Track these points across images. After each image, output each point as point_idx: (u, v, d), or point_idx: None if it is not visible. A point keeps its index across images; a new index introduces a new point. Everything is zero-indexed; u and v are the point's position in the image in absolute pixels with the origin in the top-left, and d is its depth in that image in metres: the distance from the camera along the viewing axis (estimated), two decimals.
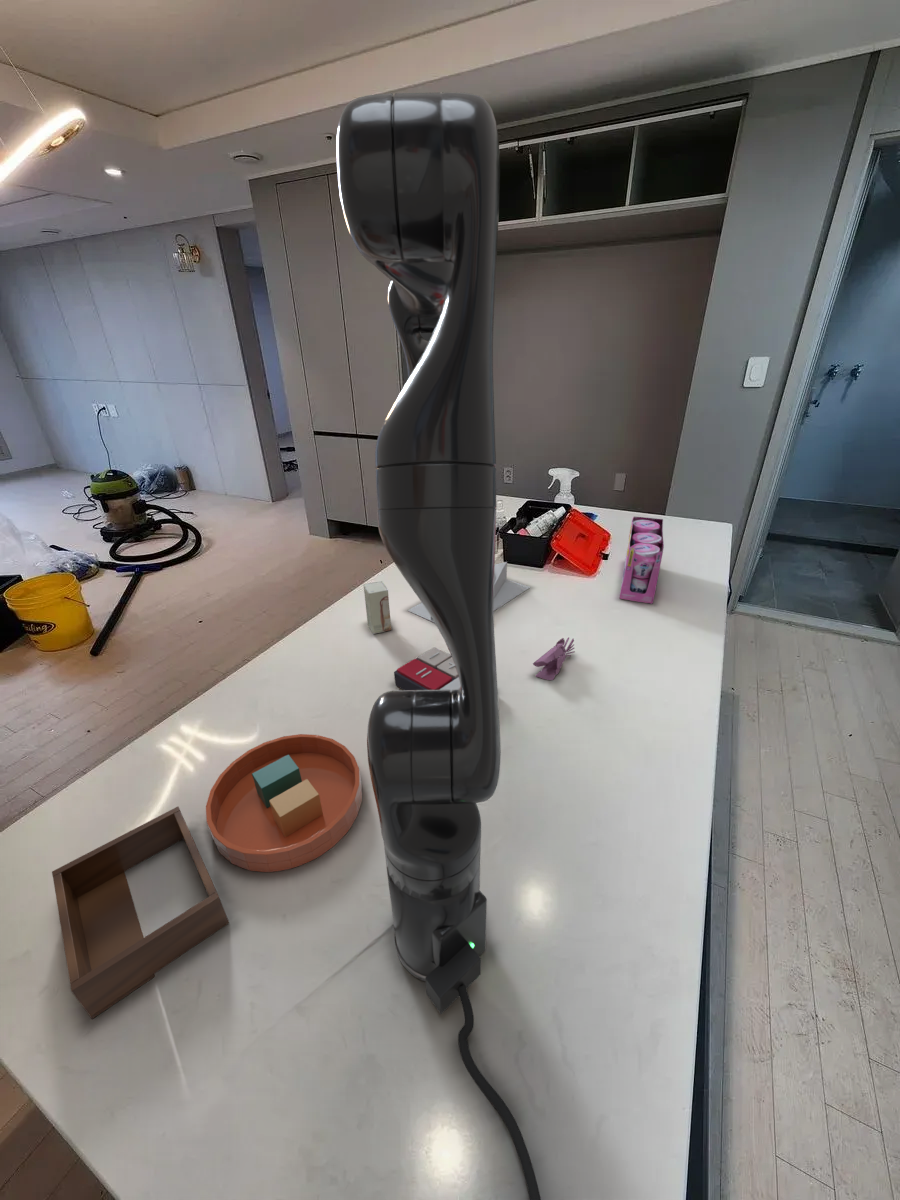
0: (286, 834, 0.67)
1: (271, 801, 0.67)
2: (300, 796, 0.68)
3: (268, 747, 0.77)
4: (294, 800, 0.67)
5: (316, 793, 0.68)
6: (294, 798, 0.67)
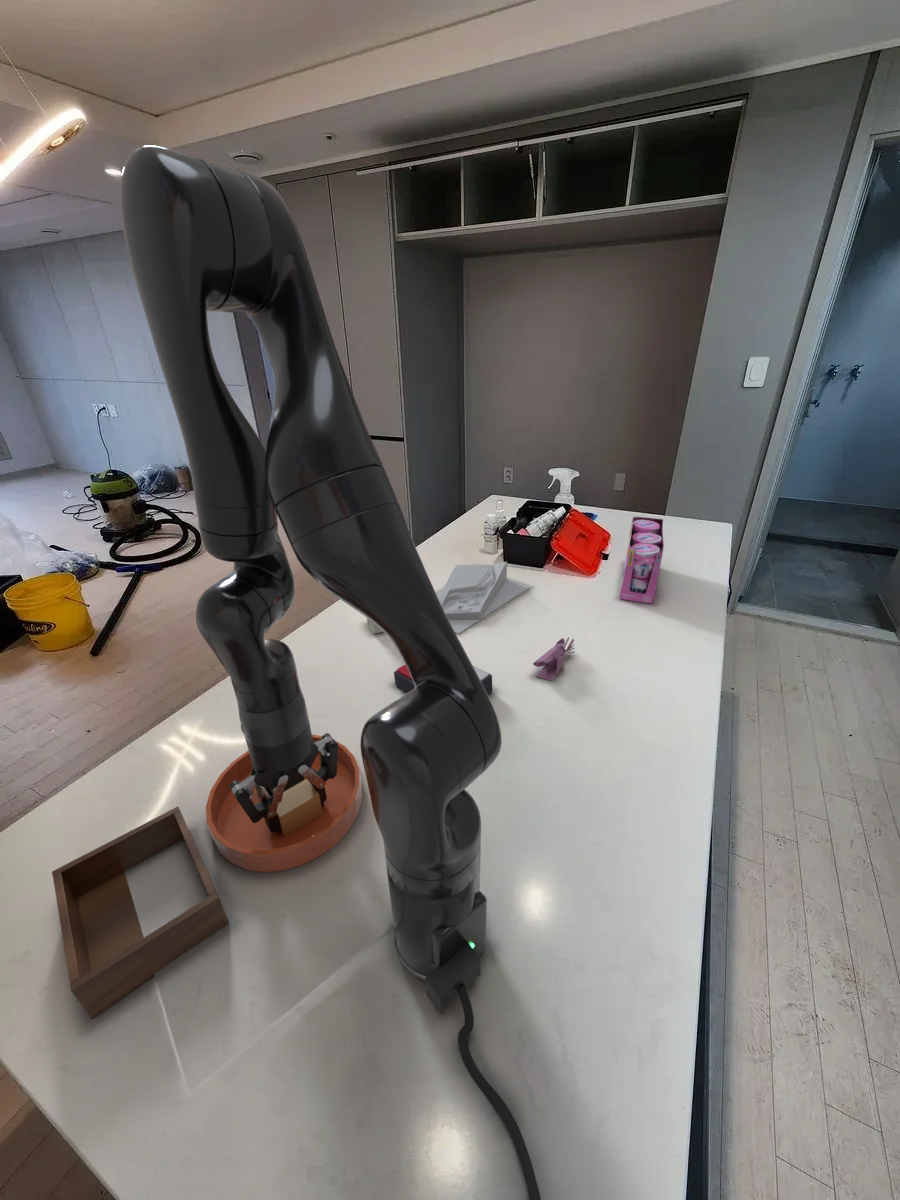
0: (286, 834, 0.67)
1: None
2: (300, 796, 0.68)
3: None
4: (294, 800, 0.67)
5: (316, 793, 0.68)
6: (294, 798, 0.67)
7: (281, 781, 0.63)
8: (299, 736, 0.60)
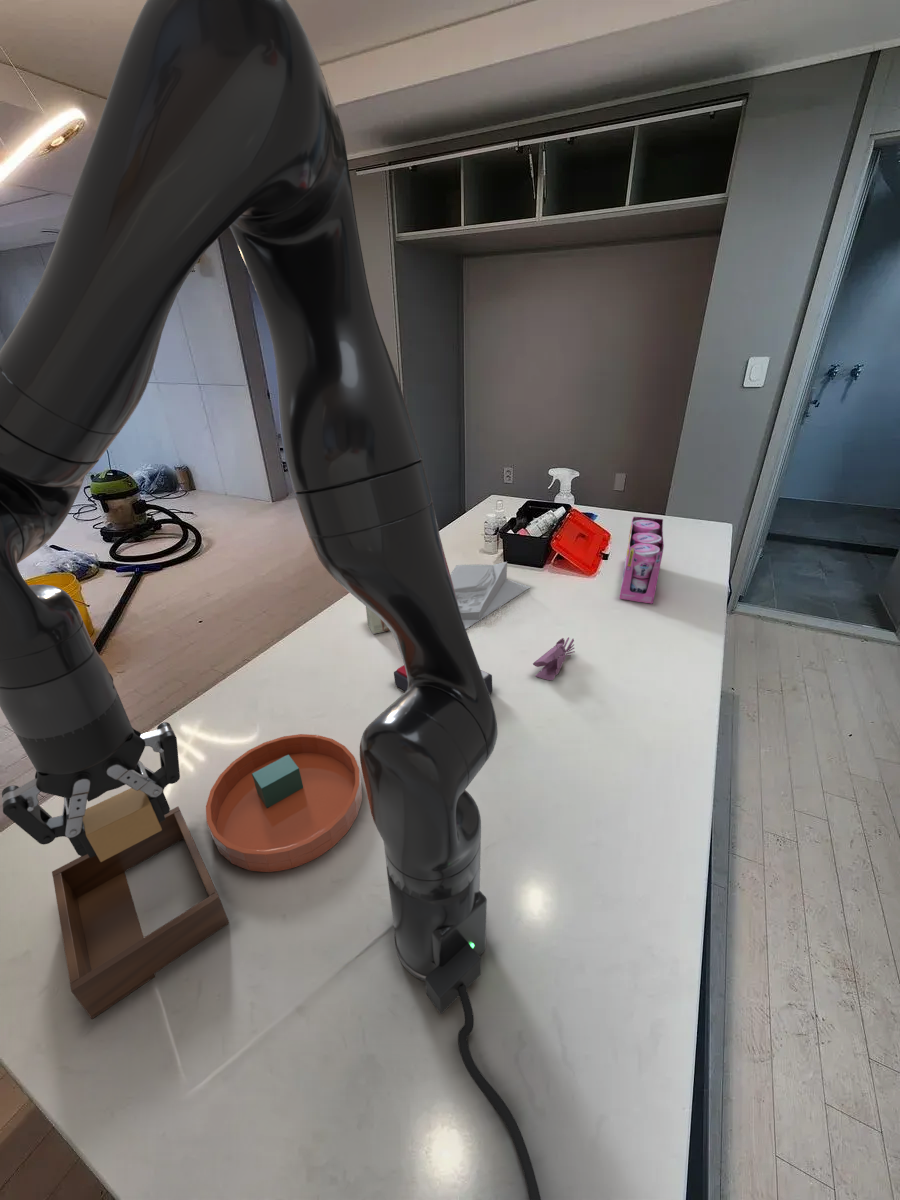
0: (102, 858, 0.49)
1: None
2: (124, 806, 0.50)
3: (268, 747, 0.77)
4: (114, 812, 0.49)
5: (147, 802, 0.50)
6: (115, 809, 0.50)
7: (78, 787, 0.45)
8: (91, 724, 0.42)
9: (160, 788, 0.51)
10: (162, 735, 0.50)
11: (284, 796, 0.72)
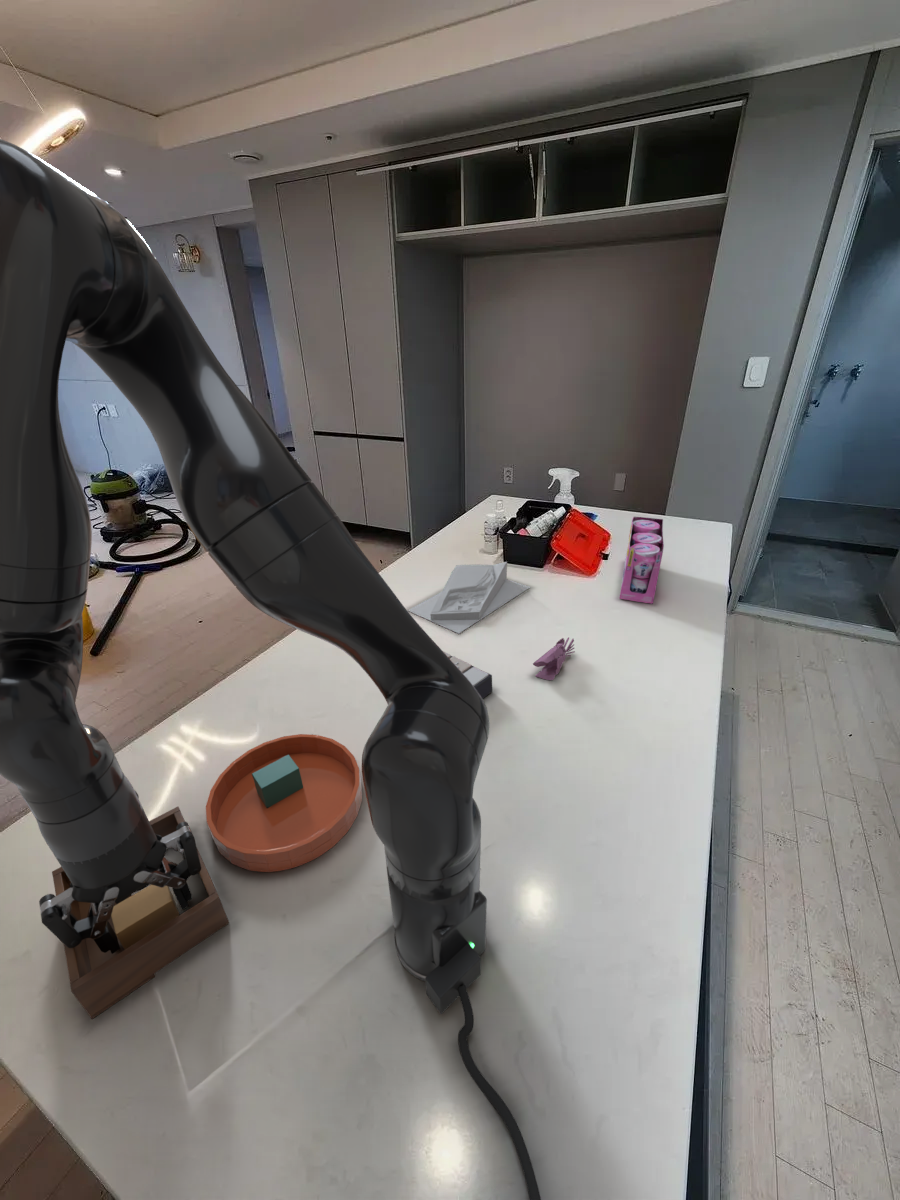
0: None
1: None
2: (148, 903, 0.56)
3: (268, 747, 0.77)
4: (140, 909, 0.55)
5: (169, 899, 0.56)
6: (140, 906, 0.55)
7: (109, 895, 0.50)
8: (122, 844, 0.47)
9: (184, 880, 0.56)
10: (181, 836, 0.55)
11: (284, 796, 0.72)
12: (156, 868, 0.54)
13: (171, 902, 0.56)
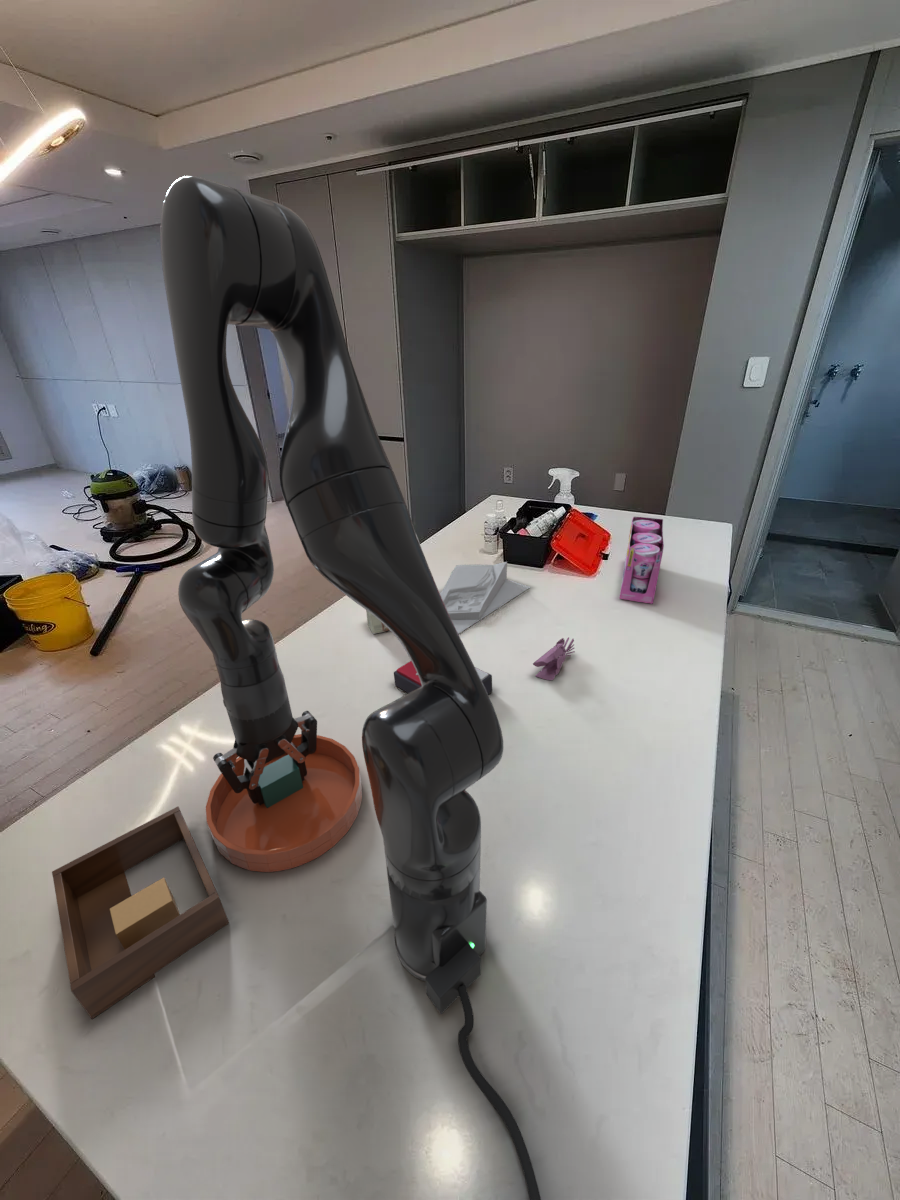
0: None
1: (112, 910, 0.55)
2: (148, 903, 0.56)
3: None
4: (140, 909, 0.55)
5: (169, 899, 0.56)
6: (140, 906, 0.55)
7: (262, 754, 0.67)
8: (278, 710, 0.64)
9: (304, 757, 0.73)
10: (308, 719, 0.71)
11: (284, 796, 0.72)
12: (290, 741, 0.70)
13: (171, 902, 0.56)
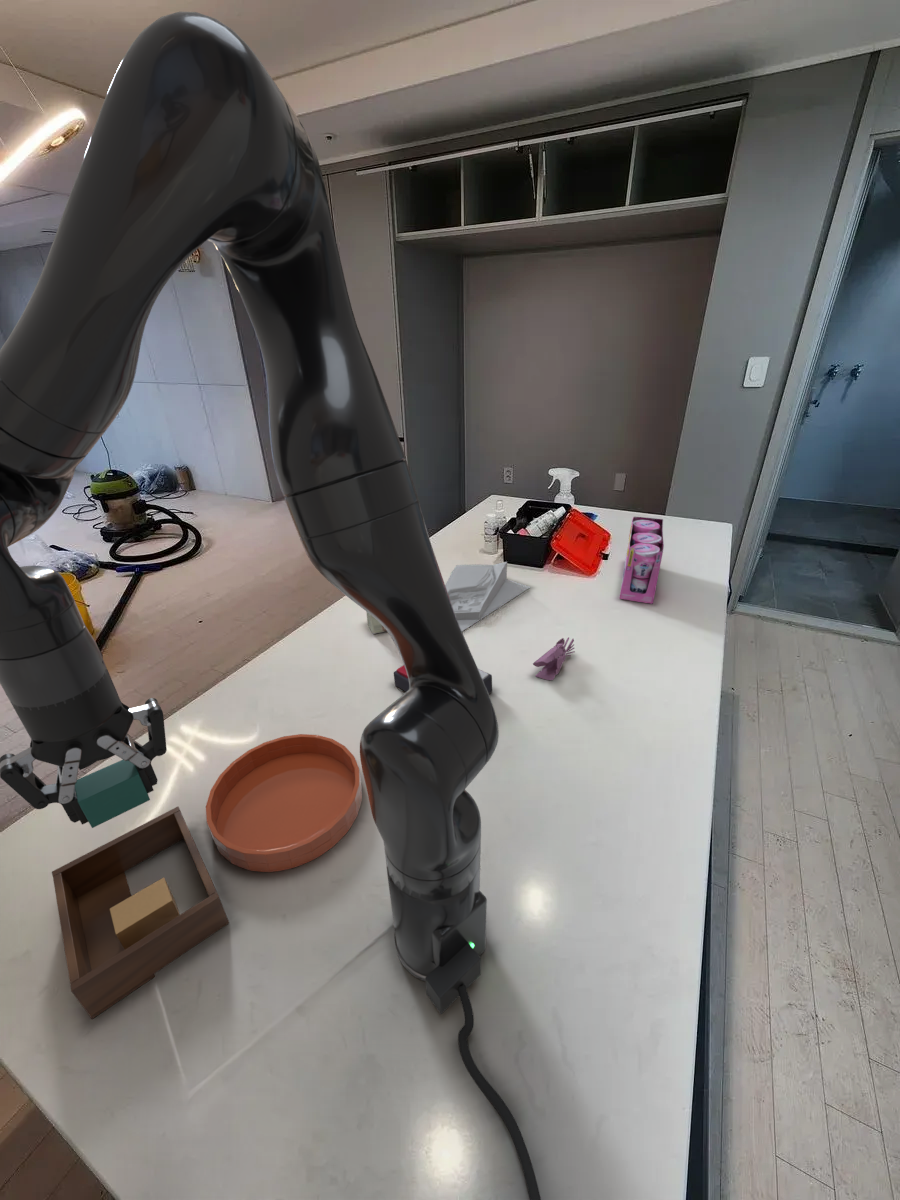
0: None
1: (112, 910, 0.55)
2: (148, 903, 0.56)
3: (268, 747, 0.77)
4: (140, 909, 0.55)
5: (169, 899, 0.56)
6: (140, 906, 0.55)
7: (70, 755, 0.48)
8: (82, 695, 0.46)
9: (148, 760, 0.54)
10: (149, 709, 0.53)
11: (119, 812, 0.54)
12: (121, 739, 0.52)
13: (171, 902, 0.56)
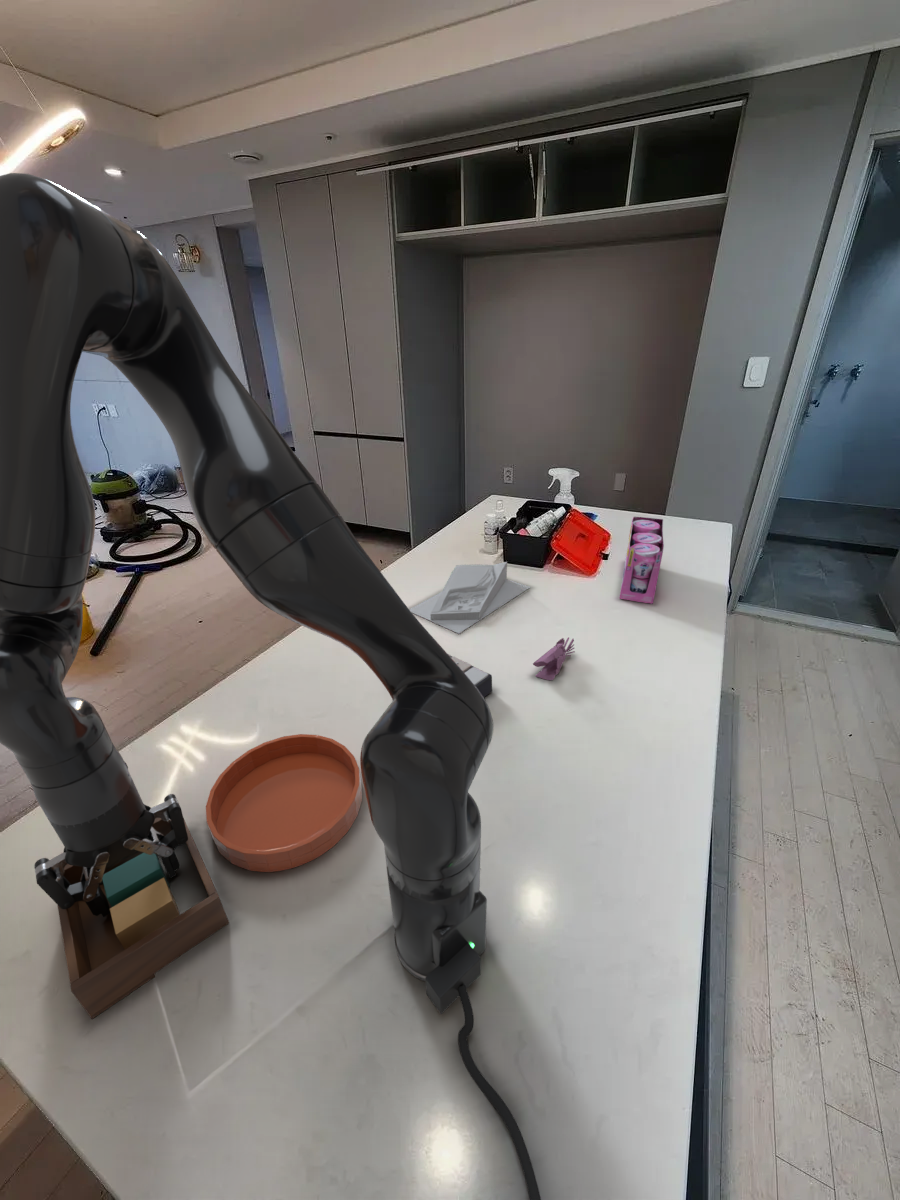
0: None
1: (112, 910, 0.55)
2: (148, 903, 0.56)
3: (268, 747, 0.77)
4: (140, 909, 0.55)
5: (169, 899, 0.56)
6: (140, 906, 0.55)
7: (100, 859, 0.54)
8: (112, 809, 0.51)
9: (171, 849, 0.60)
10: (168, 807, 0.58)
11: None
12: (145, 836, 0.57)
13: (171, 902, 0.56)
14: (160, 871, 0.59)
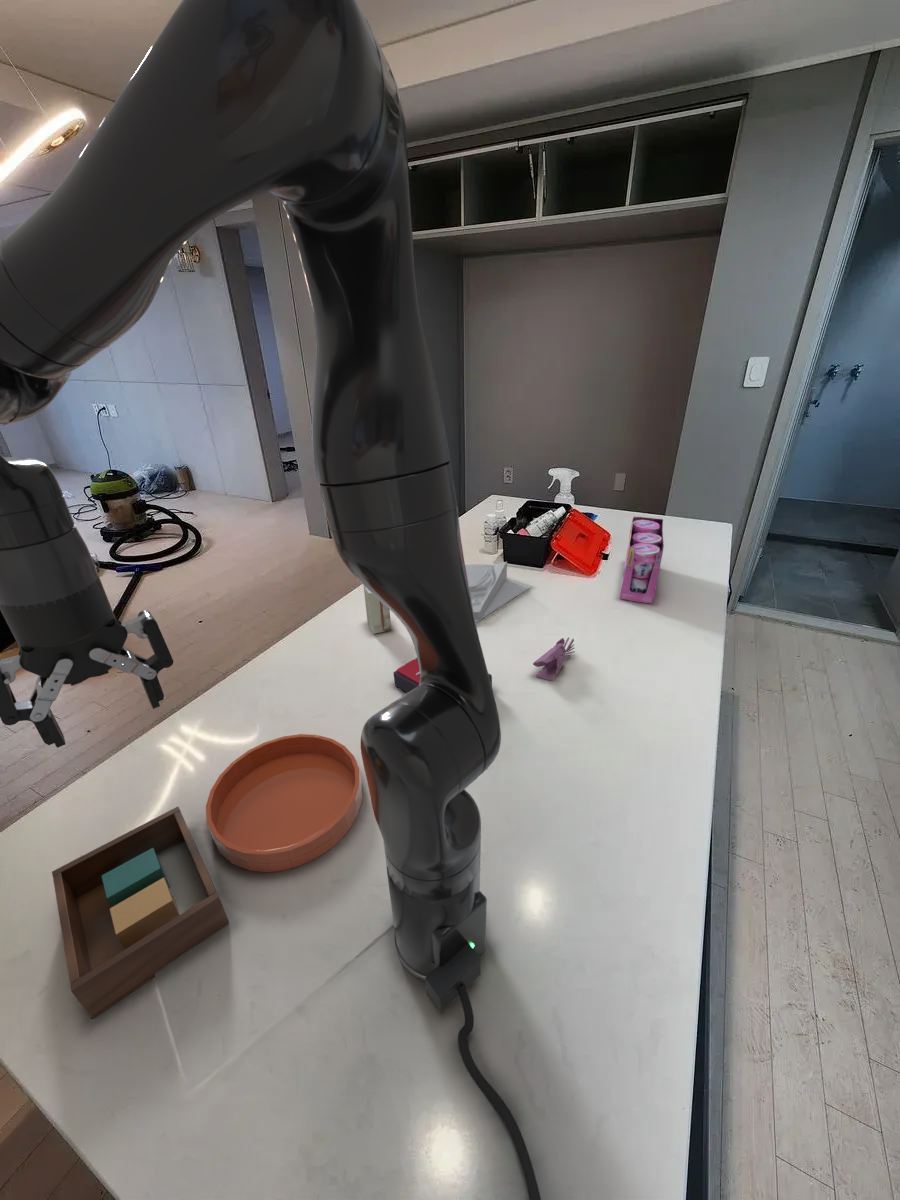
0: None
1: (112, 910, 0.55)
2: (148, 903, 0.56)
3: (268, 747, 0.77)
4: (140, 909, 0.55)
5: (169, 899, 0.56)
6: (140, 906, 0.55)
7: (61, 667, 0.46)
8: (73, 596, 0.43)
9: (154, 671, 0.52)
10: (142, 621, 0.50)
11: None
12: (117, 651, 0.49)
13: (171, 902, 0.56)
14: (160, 871, 0.59)
